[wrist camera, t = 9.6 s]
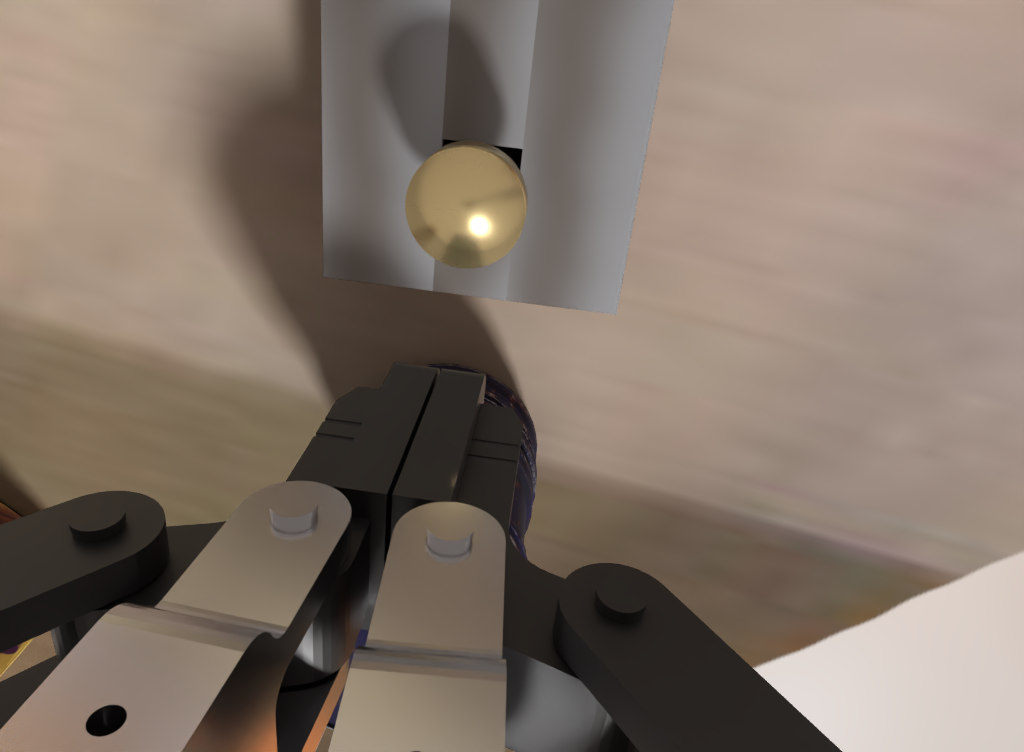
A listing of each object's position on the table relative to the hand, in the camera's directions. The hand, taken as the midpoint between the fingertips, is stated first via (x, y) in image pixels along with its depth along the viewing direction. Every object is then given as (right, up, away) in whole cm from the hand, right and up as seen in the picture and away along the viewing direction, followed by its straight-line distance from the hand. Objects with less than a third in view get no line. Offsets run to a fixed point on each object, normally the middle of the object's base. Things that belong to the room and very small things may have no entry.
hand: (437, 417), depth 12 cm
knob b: (0, +10, +20) cm, 23 cm away
